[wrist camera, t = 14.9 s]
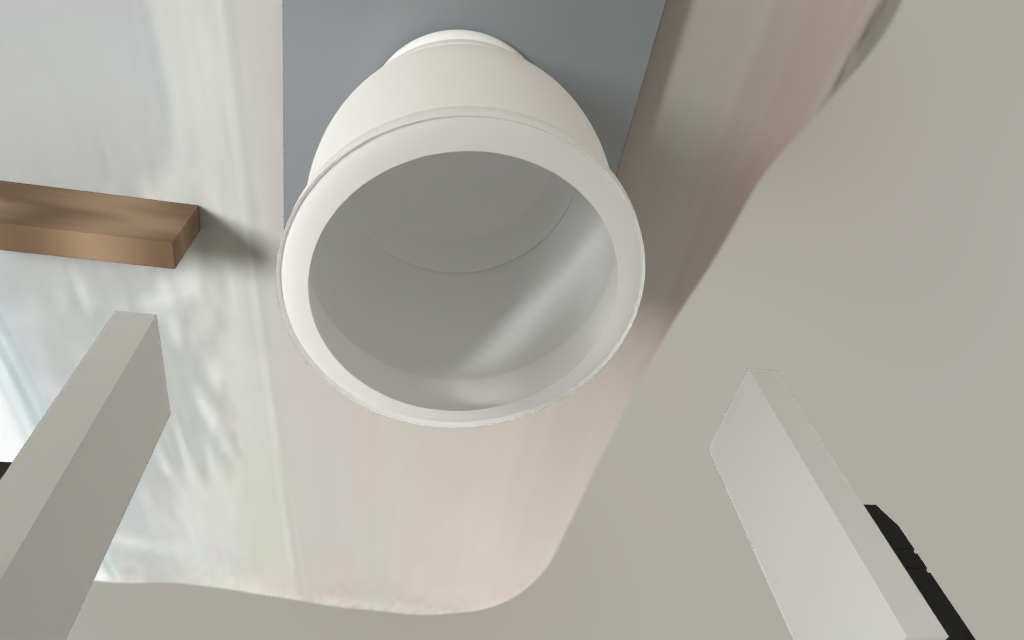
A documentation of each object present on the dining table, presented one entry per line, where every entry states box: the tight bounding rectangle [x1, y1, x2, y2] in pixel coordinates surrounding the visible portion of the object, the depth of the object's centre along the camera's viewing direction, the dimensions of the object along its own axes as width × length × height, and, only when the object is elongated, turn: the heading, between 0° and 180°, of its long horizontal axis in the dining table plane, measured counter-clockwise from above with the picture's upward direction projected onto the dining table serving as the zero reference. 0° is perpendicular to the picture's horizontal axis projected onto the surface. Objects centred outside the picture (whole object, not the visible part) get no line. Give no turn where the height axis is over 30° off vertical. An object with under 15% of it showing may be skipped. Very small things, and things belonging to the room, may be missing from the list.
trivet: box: [282, 0, 666, 229], centre depth 32 cm, size 16×16×2 cm
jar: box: [276, 30, 645, 428], centre depth 25 cm, size 11×10×15 cm
